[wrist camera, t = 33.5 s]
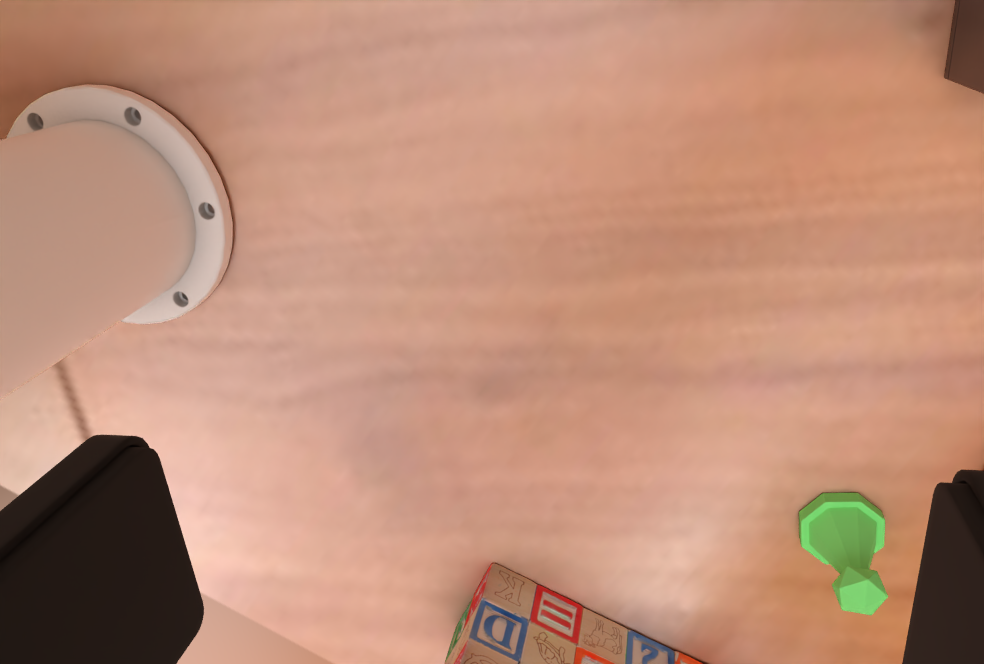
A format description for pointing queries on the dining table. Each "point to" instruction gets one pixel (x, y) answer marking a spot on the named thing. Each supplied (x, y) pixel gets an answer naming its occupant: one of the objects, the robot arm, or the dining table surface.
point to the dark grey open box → (967, 45)
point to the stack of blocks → (544, 629)
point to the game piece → (846, 546)
